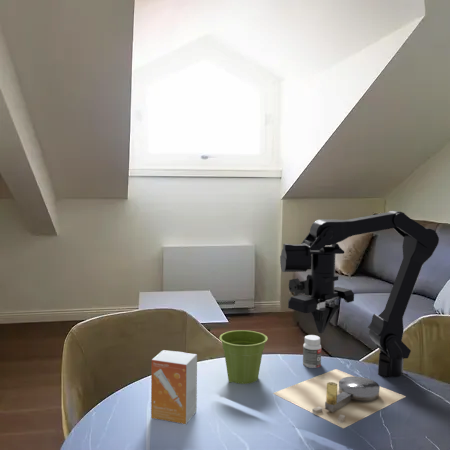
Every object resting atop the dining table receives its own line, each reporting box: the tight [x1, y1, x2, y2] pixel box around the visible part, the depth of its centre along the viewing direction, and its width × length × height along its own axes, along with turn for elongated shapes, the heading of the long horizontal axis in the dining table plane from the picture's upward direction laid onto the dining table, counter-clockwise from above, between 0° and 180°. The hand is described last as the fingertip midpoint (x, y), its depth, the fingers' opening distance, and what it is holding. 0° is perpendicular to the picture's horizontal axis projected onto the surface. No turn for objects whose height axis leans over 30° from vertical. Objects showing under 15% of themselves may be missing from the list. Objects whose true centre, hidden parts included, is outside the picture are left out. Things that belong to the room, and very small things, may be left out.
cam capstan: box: [325, 376, 380, 412], centre depth 112 cm, size 17×9×6 cm, turn 135°
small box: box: [150, 349, 198, 425], centre depth 106 cm, size 8×6×13 cm
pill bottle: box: [302, 334, 322, 369], centre depth 133 cm, size 5×5×8 cm
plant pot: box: [219, 329, 268, 385], centre depth 124 cm, size 12×12×11 cm
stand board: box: [272, 368, 407, 429], centre depth 115 cm, size 23×20×2 cm
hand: (320, 332), depth 125 cm, fingers closed
